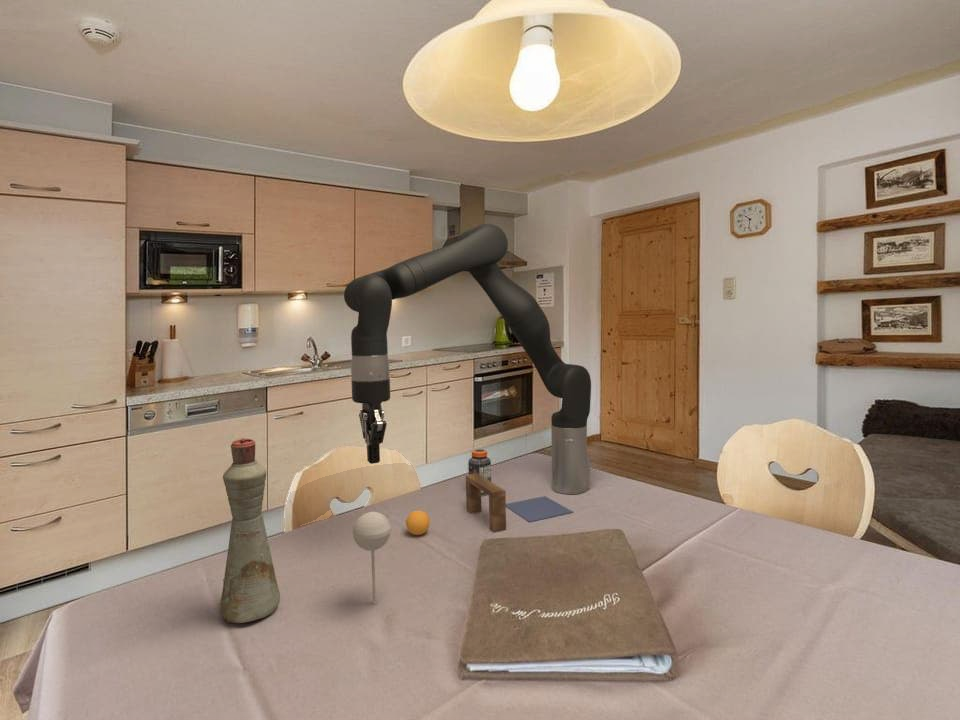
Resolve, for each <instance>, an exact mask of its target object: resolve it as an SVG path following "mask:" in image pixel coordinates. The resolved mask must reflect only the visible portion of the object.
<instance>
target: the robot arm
mask: <svg viewBox="0 0 960 720" xmlns="http://www.w3.org/2000/svg"><path fill="white" fill-rule="evenodd" d="M508 244H509V242H508V238H507V235H506V233H505V232H504V230H503V229H502V228H501V227H500V226H499V225H497V224H492V223H485V224H480V225H477V226H475V227H473V228H470V229H468V230H466V231H464V232H462V233H460V234H459V235H458V237H457V239H456V241H455V242H453V243H451V244H449V245H446V246H443V247H440V248H437V249H434V250H431V251H427V252H425V253H421V254H418V255H415V256H413V257H410V258H408V259H406V260H402V261H400V262H398V263H395V264H393V265H392V266H389V267H387V268H385V269H382V270H379V271H374V272H372V273H368V274H365V275H361V276H359V277H357V278H354V279H353V280H351V281H350V282H349V283H348V284H347V285H346V286H345V289H344V290H343V291H344V292H343V298H344V302H345V304H346V306H347V307H348V308H349V309H350V310H352V311H353V312H356V313H358V315H357V325H356V326H354V327H353V328H352V330H351V336H350V340H351V347H350V348H351V361H350V364H351V365H350V375H351V379H350V381H351V401H352V402H354V403H357V404H362V405H361V408H362V409H359V410H360V411H359V415H358V417H359V422H360V425H361V432H362V438H363V439H364V443H365V444H366V457H367V459H366V460H367V462H368V463H369V464H371V465H372V464H378V463H380V461H381V457H380V456H381V453H380V450H381V448H380V445H381V444H383V443H384V439H385V438H384V437H385V433H386V429H387V421H386V420H384V419H385V412H384V409H382V403H386V402H387V401H390V399H391V381H390V380H391V379H390V374H391V373H390V372H391V371H390V363H389V362H390V361H389V355H388V353H389V352H388V335H387V334H388V329H389V325H390V320H391V313H392V307H393V300H396V299H397V300H398V299H403V298H407V297H410V296H412V295H414V294H416V293H419V292H421V291H423V290H425V289H428V288H430V287H432V286H434V285H436V284H439V283H440V282H442V281H444V280H446V279H448V278H450V277H453V276H455V275H457V274H458V273H462V272H464V271H467V272H468V273H469V274H470V275H471V276H472V277H473V279H474V280H475V281H476V282H477V283H478V285H479V286H480V287H481V288H482V289H483V291H484V292H485V293H486V295H487V296H488V298H489V300H490V301H491V303H492V304H493V305H494V307H495V308H496V310H497V311H498V312H499V314H500V315H501V317H502V319H503V320H504V322H505V324H506V325H507V327H508V329H509V330H510V331H511V333H512V335H514V337H515V339H516V341H518V342H519V344H520V346H521V347H522V349H523V350H524V351H525V353H526V355H527V357H528V358H529V359H530V361H531V362H532V364H533V365H534V367H535V370H536V372H537V374H538V375H539V378H540V379H541V381H542V383H543V385H544V387H545V388H546V390H547V391H548V392H549V394H551V395H552V396H553V397H555V398H558V399H561V407H560V409H559V410H558V411H556V412H554V413H552V415H551V419H550V420H551V423H550V425H551V429H550V430H551V433H550V435H551V489H552V490H553V491H554V492H557V493H560V494H564V495H565V494H566V495H578V494H582V493H585V492H586V491H587V490H590V489H591V454H590V453H589V452H588V419H589V417H590V416H589V415H590V412H591V399H592V380H591V375H590V372H589V371H588V369H587V368H586V367H584V366H582V365H579V364H571V363H565V362H564V361H563V360H562V359H561V357H560V356H559V354H558V353H557V351H556V350H555V348H554V346H553V344H552V340H551V339H552V338H551V329H550V323H549V320H548V318H547V316H546V314H545V312H544V310H543V309H542V307H541V306H540V304H539V302H538V301H537V299H536V298H535V297H534V296H533V295H532V294H531V293H530V292H528V291H527V290H526V289H524V288H523V287H522V286H520V285H519V284H517V283H516V282H515V281H513V280H512V279H511V278H509V276H507V275H506V274H505V272H504V271H503V270H502V269H501V267H500V266H499V264H498V263H499V262H500V261H501V260H503V258H504V257H505V256H506V255H507V252H508V248H509V246H508Z"/></svg>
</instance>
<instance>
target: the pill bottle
mask: <svg viewBox="0 0 960 720" xmlns="http://www.w3.org/2000/svg"><path fill="white" fill-rule="evenodd" d="M467 463H468V475H469V474H476V473H478V474H479V475H481V476H483V477H484V478H486V479H487V480H489V481H491V482H492V461H491V459H490V458H489V457H488V450H487V449H485V448H475V449H473V450H471V457H470V458H469V460H468V462H467ZM481 495H484V496H488V495H487V494H486V493H484V492H483V491H481Z"/></svg>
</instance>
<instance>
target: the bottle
mask: <svg viewBox="0 0 960 720" xmlns="http://www.w3.org/2000/svg"><path fill="white" fill-rule="evenodd" d="M230 448H231V457H232V463H231V465H230V466H229V467H228V468H227V469H226V471H224V473H223V476H222V479H223V484H224V486H225V491H226V495H227V501H228V504H229V507H230V509H229V510H230V513H231V517H232V518H231V523H230V524H231V525H230V534H229V541H228V548H227V555H226V561H225V562H226V563H225V569H224V570H225V571H224V578H223V579H222V581H223V582H222V583H223V585H222V591H221V592H222V593H221V597H220V603H219V605H220V606H219V612H220V615H221V617H223V621H225V622H226V623H231V624H245V623H248V622H253V621H257V620H261V619H264V618H265V617H267V616H270V615H273V614H274V612H275V610H276V609H277V607H278V605H279V604H280V602H281V601H280V600H281V594H280V593H281V592H280V590H279V589H280V588H279V585H278V581H277V577H276V573H275V568H274V567H275V566H274V563H273V558H272V554H271V550H270V545H269V539H268V535H267V530H266V526H265V522H264V517H263V513H262V510H263V503H264V502H263V501H264V495H265V492H264V491H265V487H266V486H265V485H266V481H267V480H266V479H267V469H266V467H265V466H264V465H262V464H261V463H260V462H258V460H257V459H256V441H255V440H254V439H252V438H245V437H242V438H241V439H237V440H234V441H232V443H231V445H230Z"/></svg>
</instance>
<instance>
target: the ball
mask: <svg viewBox="0 0 960 720" xmlns="http://www.w3.org/2000/svg"><path fill="white" fill-rule="evenodd" d="M405 521H406V522H405V526H406V529H407V531H408V532H409V533H410V534H412V535H415V536H420V535H424V534H425V533H426V532H427V531H428V530H429V527H430V525H431V524H430V522H431V521H430V516H429V515H428V513H426V512H424V511H422V510H419V509H418V510H414V511H412V512H411V513H409V514H408V516H407V517H406V520H405Z"/></svg>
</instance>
